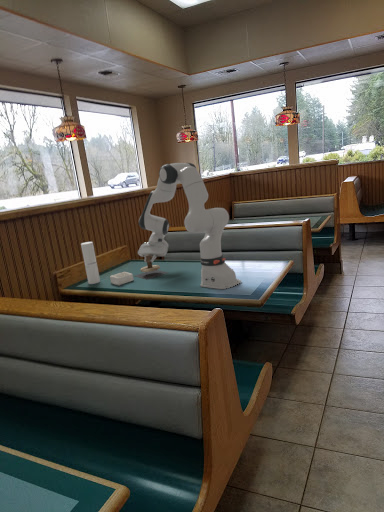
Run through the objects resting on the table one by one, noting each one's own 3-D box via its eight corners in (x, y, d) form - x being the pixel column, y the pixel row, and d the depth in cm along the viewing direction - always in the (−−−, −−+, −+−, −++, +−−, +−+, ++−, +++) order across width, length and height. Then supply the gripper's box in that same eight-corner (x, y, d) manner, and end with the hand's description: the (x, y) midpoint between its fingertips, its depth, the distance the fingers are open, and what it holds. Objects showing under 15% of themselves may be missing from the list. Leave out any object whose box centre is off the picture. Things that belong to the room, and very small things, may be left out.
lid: (163, 267, 234) (161, 253, 232) (147, 272, 227) (145, 258, 225) (153, 265, 244) (150, 252, 242) (137, 270, 236) (134, 256, 235)
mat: (168, 273, 235) (168, 272, 235) (146, 280, 226) (146, 279, 225) (154, 270, 247) (154, 269, 247) (133, 276, 238) (133, 276, 238)
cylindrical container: (98, 283, 234) (90, 243, 228) (87, 284, 234) (79, 244, 228) (101, 279, 240) (94, 241, 235) (90, 281, 241) (82, 242, 235)
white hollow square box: (133, 280, 228) (132, 273, 227) (118, 285, 222) (117, 278, 221) (125, 278, 236) (124, 271, 235) (111, 283, 230) (109, 275, 229)
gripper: (139, 240, 243) (132, 259, 237) (165, 239, 232) (158, 259, 226) (145, 245, 248) (138, 264, 242) (171, 244, 237) (164, 264, 231)
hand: (148, 261), depth 234 cm, fingers closed on lid, 3 cm apart
